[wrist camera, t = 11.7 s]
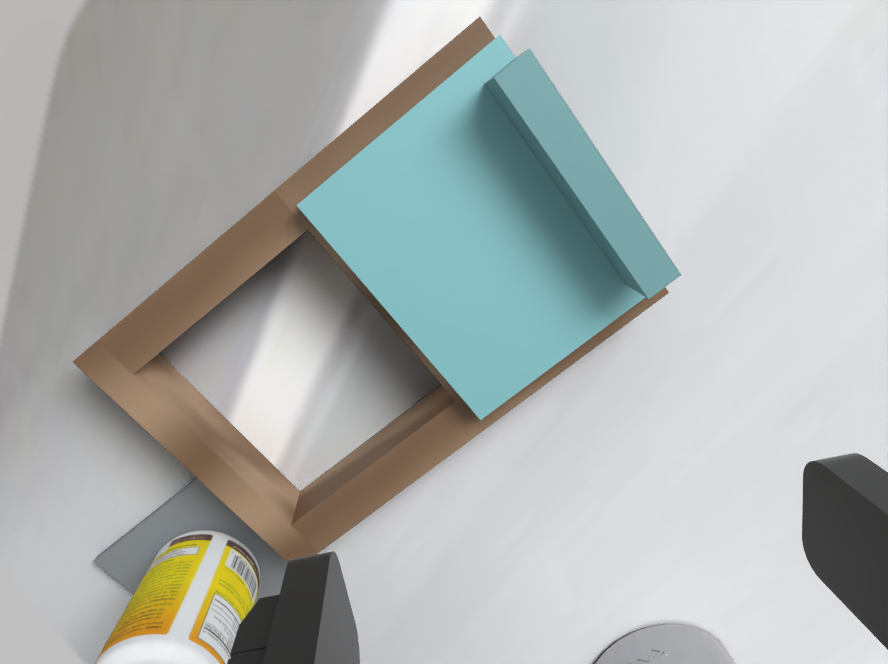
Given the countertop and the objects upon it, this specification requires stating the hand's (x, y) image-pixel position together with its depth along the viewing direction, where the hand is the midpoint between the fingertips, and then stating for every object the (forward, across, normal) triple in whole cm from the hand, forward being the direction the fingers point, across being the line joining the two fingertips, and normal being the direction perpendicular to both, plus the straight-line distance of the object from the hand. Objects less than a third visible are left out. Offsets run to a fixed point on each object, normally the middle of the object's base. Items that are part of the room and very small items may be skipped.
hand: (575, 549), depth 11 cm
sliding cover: (+17, -1, -2) cm, 17 cm away
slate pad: (+20, +16, +13) cm, 29 cm away
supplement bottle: (+20, +16, +13) cm, 28 cm away
